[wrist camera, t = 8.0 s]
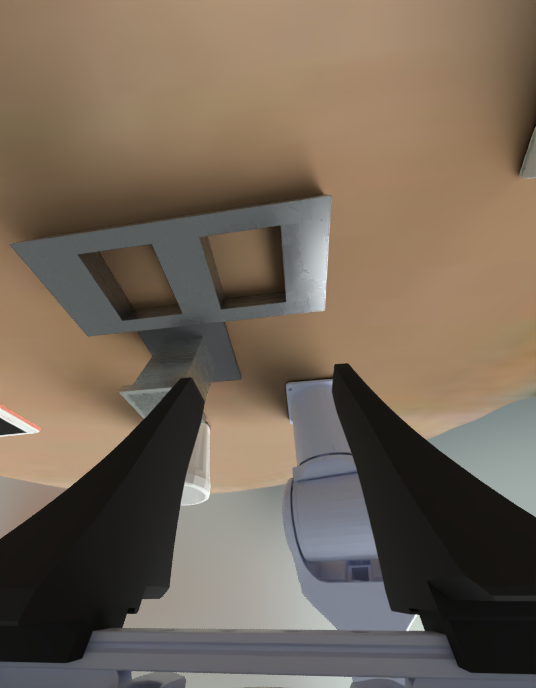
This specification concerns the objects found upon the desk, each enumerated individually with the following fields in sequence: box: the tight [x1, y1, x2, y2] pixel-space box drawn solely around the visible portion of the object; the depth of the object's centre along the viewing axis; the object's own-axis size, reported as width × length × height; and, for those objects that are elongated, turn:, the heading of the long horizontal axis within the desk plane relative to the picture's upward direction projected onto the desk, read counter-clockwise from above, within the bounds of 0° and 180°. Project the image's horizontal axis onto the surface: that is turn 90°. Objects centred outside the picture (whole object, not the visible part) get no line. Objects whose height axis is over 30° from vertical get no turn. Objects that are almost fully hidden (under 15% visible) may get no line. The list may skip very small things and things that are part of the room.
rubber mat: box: [137, 322, 241, 382], centre depth 23 cm, size 9×9×1 cm
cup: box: [181, 422, 211, 505], centre depth 29 cm, size 10×10×9 cm
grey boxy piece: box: [119, 336, 215, 423], centre depth 20 cm, size 5×5×7 cm
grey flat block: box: [10, 194, 331, 336], centre depth 16 cm, size 8×22×2 cm, turn 97°
